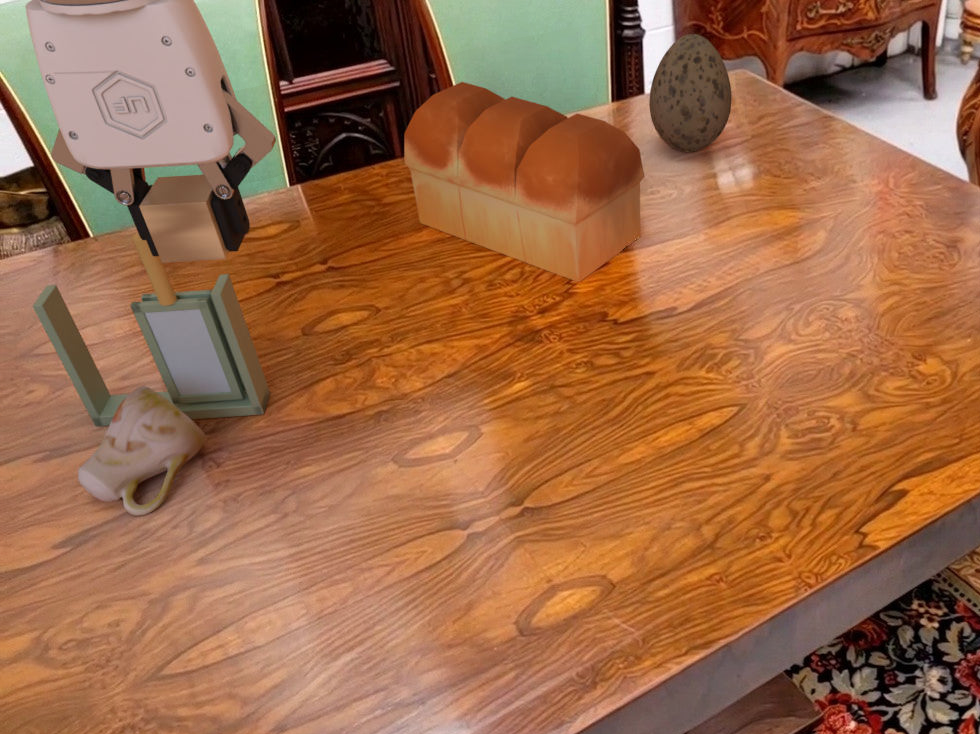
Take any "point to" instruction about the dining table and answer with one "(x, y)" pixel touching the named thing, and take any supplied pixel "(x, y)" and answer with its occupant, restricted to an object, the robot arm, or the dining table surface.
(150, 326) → the window pane
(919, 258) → the dining table surface
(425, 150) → the bread
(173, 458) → the mug
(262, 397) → the window frame
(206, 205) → the block
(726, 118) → the decorative egg
